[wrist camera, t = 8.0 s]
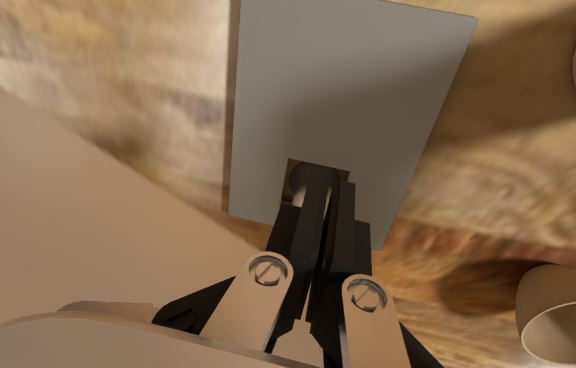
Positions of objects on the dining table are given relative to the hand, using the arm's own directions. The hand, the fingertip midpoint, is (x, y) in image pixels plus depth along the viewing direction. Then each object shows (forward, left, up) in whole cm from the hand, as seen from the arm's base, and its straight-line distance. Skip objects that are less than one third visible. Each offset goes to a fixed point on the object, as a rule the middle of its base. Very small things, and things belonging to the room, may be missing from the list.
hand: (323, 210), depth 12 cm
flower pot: (-28, +18, -21) cm, 39 cm away
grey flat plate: (0, +6, -21) cm, 21 cm away
